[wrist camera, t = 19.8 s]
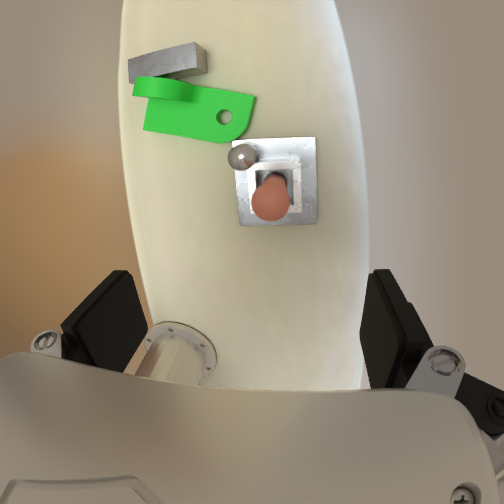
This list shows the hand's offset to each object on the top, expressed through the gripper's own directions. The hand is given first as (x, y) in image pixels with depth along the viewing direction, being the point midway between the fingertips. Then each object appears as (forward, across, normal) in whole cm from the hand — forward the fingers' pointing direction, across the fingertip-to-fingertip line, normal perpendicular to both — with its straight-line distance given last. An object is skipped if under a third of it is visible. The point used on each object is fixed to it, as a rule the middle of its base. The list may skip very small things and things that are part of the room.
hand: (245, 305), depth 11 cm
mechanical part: (+25, +8, -9) cm, 28 cm away
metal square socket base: (+24, 0, 0) cm, 24 cm away
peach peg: (+23, 0, 0) cm, 23 cm away
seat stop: (+24, +11, -15) cm, 31 cm away
